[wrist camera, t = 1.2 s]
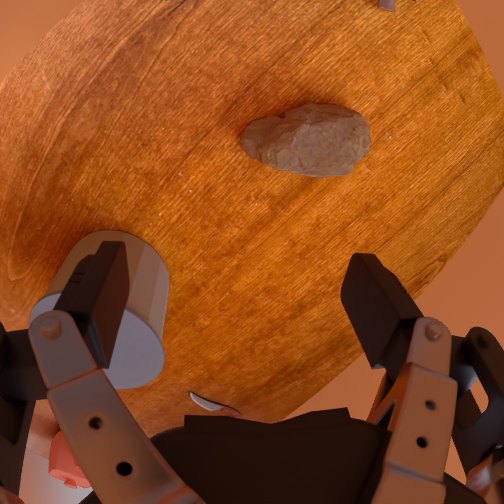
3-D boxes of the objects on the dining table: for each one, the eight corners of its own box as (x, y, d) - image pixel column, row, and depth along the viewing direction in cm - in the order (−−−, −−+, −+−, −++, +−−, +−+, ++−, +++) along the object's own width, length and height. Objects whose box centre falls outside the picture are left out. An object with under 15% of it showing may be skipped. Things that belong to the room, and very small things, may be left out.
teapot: (62, 415, 53) (51, 470, 41) (113, 435, 58) (107, 489, 46) (49, 438, 61) (41, 482, 49) (90, 455, 66) (85, 497, 55)
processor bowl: (60, 291, 35) (32, 352, 26) (84, 211, 30) (43, 270, 21) (146, 328, 40) (136, 395, 31) (187, 260, 34) (181, 330, 26)
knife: (180, 399, 49) (191, 393, 48) (180, 396, 49) (191, 390, 48) (236, 421, 55) (247, 416, 54) (236, 419, 55) (247, 413, 54)
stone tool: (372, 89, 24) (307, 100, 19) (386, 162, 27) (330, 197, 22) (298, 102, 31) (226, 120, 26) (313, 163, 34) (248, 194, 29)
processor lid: (29, 349, 27) (10, 397, 21) (42, 258, 21) (7, 315, 16) (139, 394, 32) (134, 444, 26) (189, 324, 26) (186, 389, 21)
